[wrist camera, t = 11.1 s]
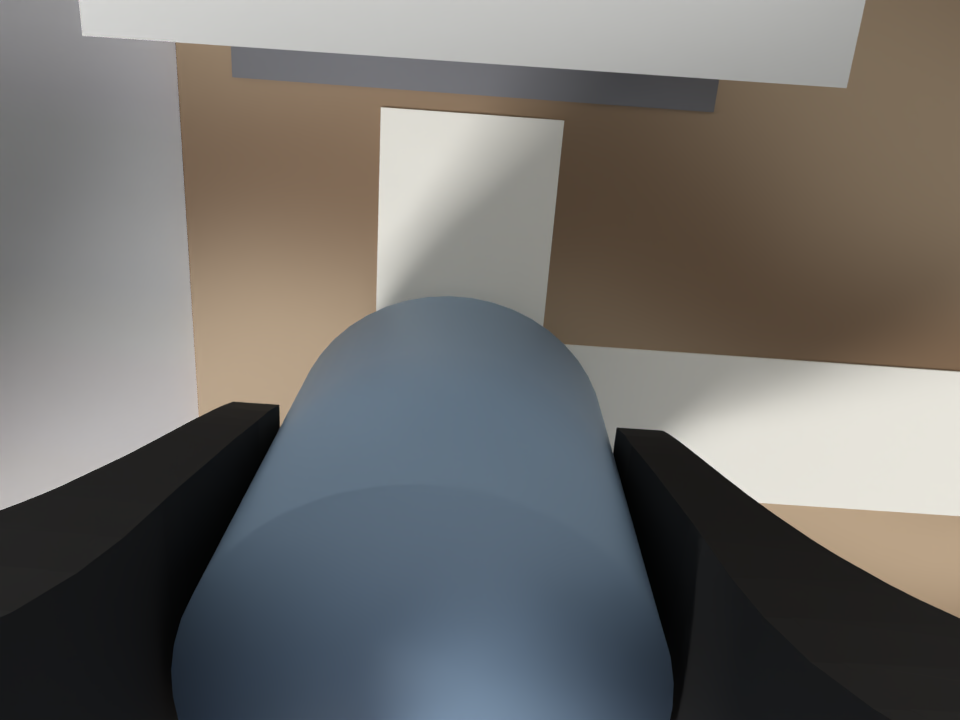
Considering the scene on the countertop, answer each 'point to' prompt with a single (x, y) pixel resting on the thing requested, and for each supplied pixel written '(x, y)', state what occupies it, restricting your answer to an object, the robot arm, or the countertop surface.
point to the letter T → (650, 373)
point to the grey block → (523, 32)
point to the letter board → (610, 221)
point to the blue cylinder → (431, 542)
